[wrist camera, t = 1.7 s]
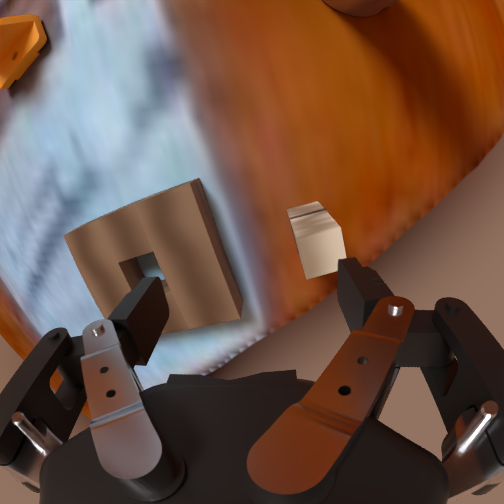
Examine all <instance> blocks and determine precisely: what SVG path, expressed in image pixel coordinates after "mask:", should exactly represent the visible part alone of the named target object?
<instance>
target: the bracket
mask: <svg viewBox="0 0 504 504" xmlns="http://www.w3.org/2000/svg"><path fill="white" fill-rule="evenodd" d="M46 40H47V37H46V34H45V32H44V29H43V26H42V23H41V21H40V18H39V16H36V15H33V14H28V15H19V16H11V17H4V18H0V89H8V88H9V87H10V86H11V85H12V83H13V82H14V81H15V80H19V78H20V77H21V76H22V75H23V73H24V72H25V71H26V70H27V68H28V67H29V66H30V65H31V63H32V62H33V61H34V60H35V59H36V58H37V57H38V55H39V54H40V53H39V50H40V49H41V48H42V47H43V46H44V44H45V43H46Z"/></svg>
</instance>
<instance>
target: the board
mask: <svg viewBox="0 0 504 504" xmlns="http://www.w3.org/2000/svg"><path fill="white" fill-rule="evenodd" d="M64 238H65V240H66V243H67V245H68V247H69V250H70V252H71V254H72V256H73V258H74V261H75V263H76V265H77V267H78V269H79V271H80V273H81V275H82V277H83V279H84V281H85V283H86V285H87V287H88V289H89V291H90V293H91V295H92V297H93V299H94V300H95V302H96V304H97V306H98V308H99V309H100V311H101V313H102V315H103V317H104V318H105V319H107V318H108V317H109V316H110V314H111V313H112V312H113V310H114V309H115V308H116V306H118V304H119V303H120V301H121V300H122V299H123V298H124V296H125V295H126V294H127V293H129V292H130V291H131V290H133V289H134V288H135V287H136V286H137V285H138V283H139V282H140V281H141V280H142V278H144V276H143V273H142V271H141V269H140V267H139V265H138V262H137V260H136V258H135V257H137V256H141V255H144V254H147V253H150V252H154V254H155V257H156V259H157V261H158V264H159V266H160V268H161V270H162V273H163V275H164V277H165V279H164V280H161V282H162V285H163V289H164V292H165V295H166V299H167V302H168V305H169V319H168V321H167V323H166V325H165V327H164V329H163V331H162V333H161V334H165V333H170V332H176V331H182V330H187V329H193V328H198V327H203V326H208V325H213V324H218V323H223V322H228V321H233V320H237V319H241V311H242V303H243V300H242V297H241V294H240V292H239V289H238V286H237V284H236V281H235V278H234V275H233V273H232V270H231V267H230V265H229V262H228V259H227V256H226V254H225V251H224V248H223V245H222V243H221V240H220V237H219V234H218V231H217V229H216V226H215V223H214V220H213V217H212V214H211V212H210V209H209V206H208V203H207V200H206V197H205V194H204V191H203V188H202V186H201V183H200V180H199V178H197V179H194V180H192V181H189V182H186V183H183V184H180V185H178V186H175V187H172V188H169V189H167V190H164V191H161V192H159V193H156V194H154V195H151V196H149V197H146V198H143V199H141V200H139V201H136V202H134V203H131V204H129V205H126V206H124V207H122V208H119V209H117V210H115V211H112V212H110V213H108V214H105V215H103V216H101V217H99V218H96V219H94V220H92V221H90V222H88V223H86V224H83V225H81V226H79V227H78V228H76V229H74V230H72V231H71V232H69V233H67V234H66V235H64Z"/></svg>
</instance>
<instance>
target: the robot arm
mask: <svg viewBox="0 0 504 504" xmlns="http://www.w3.org/2000/svg"><path fill="white" fill-rule="evenodd" d="M323 1H324V2H325V3H326V4H328V5H329V6H330V7H332V8H334V9H336V10H337V11H340V12H342V13H345V14H348V15H352V16H358V17H369V16H373V15H375V14H377V13H379V12H380V11H381V10H382V9H383V8H386V7H389V8H390V7H391V6H392V5H393V4H394V3H396V2H397V1H398V0H323ZM337 291H338V292H337V294H338V302H339V305H340V307H341V310H342V312H343V314H344V317H345V319H346V322H347V324H348V327H349V329H350V332H351V334H350V335H349V337H348V338H347V340H346V341H345V343H344V344H343V346H342V347H341V348H340V350H339V351H338V353H337V354H336V355H335V357H334V358H333V360H332V361H331V363H330V364H329V365H328V366H327V368H326V369H325V370H324V372H323V373H322V374H321V376H320V377H319V379H318V380H317V381H316V382H313V381H309V380H303V379H297V376H296V370H287V371H275V372H263V373H259V374H255V375H251V376H247V377H243V378H238V379H234V380H224V379H218V378H213V377H208V376H203V375H182V374H170V375H169V378H168V381H167V383H164V384H160V385H156V386H153V387H150V388H148V389H146V390H144V389H143V387H142V385H141V383H140V381H139V378H138V376H137V374H136V372H135V370H134V366H135V365H142V366H146V365H147V363H148V361H149V359H150V357H151V354H152V352H153V350H154V348H155V346H156V344H157V342H158V340H159V337H160V335H161V333H162V331H163V329H164V327H165V325H166V323H167V321H168V319H169V305H168V302H167V299H166V295H165V292H164V289H163V285H162V282H161V279H160V278H159V277H148V278H142V280H141V281H140V282H139V283H138V285H137V286H136V287H135V288H134V289H133V290H131V291H130V292H129V293H127V294H126V295H125V296H124V298H123V299H122V300H121V301H120V303H119V304H118V306H116V308H115V309H114V310H113V312H112V313H111V314H110V316H109V317H108V318H107V319H101V320H97V321H95V322H92V323H91V324H89V325H88V326H87V327H86V328H85V329H84V330H83V333H82V335H81V336H76V337H70V335H69V333H68V331H67V329H65V328H56V329H53V330H51V331H49V332H48V333H47V334H45V335H44V337H43V338H42V339H41V340H40V341H39V343H38V344H37V345H36V346H35V348H34V349H33V350H32V351H31V353H30V354H29V355H28V357H27V358H26V359H25V360H24V362H23V363H22V365H21V366H20V367H19V369H18V370H17V371H16V372H15V374H14V375H13V377H12V378H11V379H10V381H9V382H8V384H7V385H6V386H5V388H4V389H3V391H2V392H1V394H0V467H1V468H2V469H3V470H4V471H6V472H7V473H8V474H9V475H11V476H12V477H13V478H14V479H16V480H17V481H19V482H21V483H22V484H23V485H25V486H26V487H27V488H29V489H30V490H32V491H33V492H36V493H40V503H39V504H449V503H451V502H454V501H455V500H458V499H460V498H462V497H464V496H466V495H469V494H474V495H482V494H486V493H487V492H489V491H490V490H492V489H493V488H494V487H496V486H497V485H498V484H500V483H501V482H502V481H503V480H504V349H503V348H502V347H501V345H500V344H499V343H498V342H497V340H496V339H495V338H494V336H493V335H492V334H491V333H490V332H489V330H488V329H487V328H486V326H485V325H484V324H483V323H482V322H481V320H480V319H479V318H478V317H477V316H476V314H475V313H474V312H473V311H472V310H471V309H470V308H469V306H468V305H467V304H466V303H464V302H463V301H461V300H459V299H456V298H451V297H447V298H442V299H439V300H438V301H437V302H436V304H435V309H434V310H415V308H414V305H413V304H412V302H411V301H409V300H408V299H406V298H403V297H399V296H394V294H393V293H392V292H391V290H390V289H389V288H388V286H387V285H386V284H385V283H384V281H383V280H382V279H381V278H380V276H379V275H378V273H377V272H376V271H374V270H373V269H371V268H369V267H362V266H361V264H360V263H359V262H358V260H357V259H356V258H355V257H353V258H344V259H339V260H338V282H337ZM454 356H456V358H457V360H456V358H455V357H454ZM457 361H458V362H457ZM400 367H420V368H421V371H422V373H423V375H424V377H425V379H426V382H427V384H428V386H429V388H430V391H431V393H432V395H433V397H434V400H435V402H436V405H437V407H438V409H439V412H440V414H441V417H442V419H443V422H444V424H445V427H446V430H447V432H448V434H447V435H446V437H445V438H444V440H443V442H442V446H441V451H442V462H441V461H440V460H439V459H438V458H437V457H436V456H435V455H433V454H432V453H431V452H429V451H427V450H426V449H424V448H422V447H421V446H419V445H417V444H415V443H414V442H412V441H410V440H409V439H407V438H405V437H404V436H402V435H400V434H399V433H397V432H395V431H394V430H392V429H391V428H389V427H388V426H386V425H384V424H383V423H381V422H380V421H378V419H379V416H380V414H381V412H382V409H383V407H384V404H385V402H386V400H387V398H388V395H389V393H390V391H391V389H392V386H393V384H394V382H395V380H396V377H397V375H398V373H399V370H400ZM56 368H57V370H58V372H59V373H60V375H61V376H62V378H63V379H64V380H63V382H62V383H61V385H60V387H59V388H58V390H57V392H56V394H54V393H53V391H52V390H51V388H50V383H49V382H50V378H51V376H52V375H53V373H54V371H55V370H56ZM87 399H88V403H89V408H90V412H91V416H92V423H91V424H90V427H88V428H87V429H85V430H84V431H82V432H80V433H79V434H77V435H76V436H74V437H73V438H71V439H69V436H70V434H71V432H72V429H73V427H74V425H75V423H76V421H77V419H78V417H79V414H80V412H81V410H82V408H83V406H84V404H85V402H86V400H87ZM68 439H69V440H68Z"/></svg>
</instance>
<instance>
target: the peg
mask: <svg viewBox="0 0 504 504" xmlns="http://www.w3.org/2000/svg"><path fill="white" fill-rule="evenodd" d="M287 212H288V216H289V220H290V223H291V227H292V231H293V235H294V238H295V242H296V246H297V250H298V253H299V255H300V258H301V262H302V265H303V269H304V272H305V276H306V279H310V278H314V277H317V276H321V275H325V274H329V273H332V272H336V271H338V260H339V259H344V258H346V253H345V247H344V242H343V237H342V232H341V227H340V226H339V225H338V224H337V223H336V222H335V220H334V219H333V218H332V217H331V216H330V215H329V213H328V212H327V211H326V209H325V208H323V207H322V205H321V204H320V203H319V202H318V201H316V202H312V203H309V204H305V205H301V206H297V207H294V208H290V209H287Z"/></svg>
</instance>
